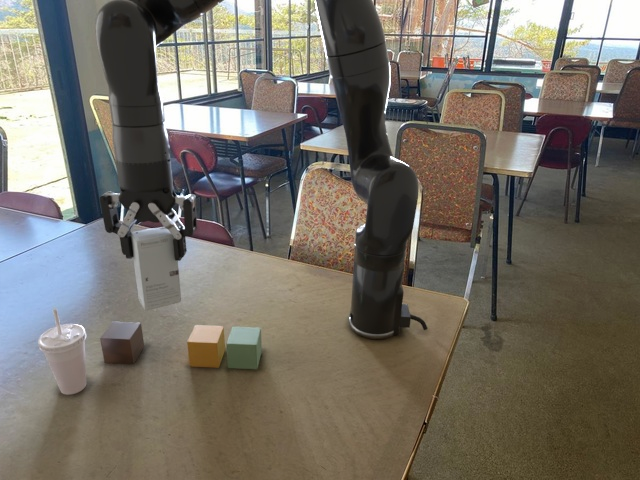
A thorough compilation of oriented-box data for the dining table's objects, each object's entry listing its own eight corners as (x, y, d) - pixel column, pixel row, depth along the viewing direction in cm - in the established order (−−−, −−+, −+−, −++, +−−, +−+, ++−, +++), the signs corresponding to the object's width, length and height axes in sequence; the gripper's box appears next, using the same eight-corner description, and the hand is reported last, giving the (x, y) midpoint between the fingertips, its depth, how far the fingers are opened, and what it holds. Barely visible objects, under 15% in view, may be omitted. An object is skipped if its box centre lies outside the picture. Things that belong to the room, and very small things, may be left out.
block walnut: (144, 346, 86) (141, 322, 84) (133, 364, 81) (129, 339, 79) (116, 345, 86) (112, 321, 84) (104, 362, 81) (99, 338, 79)
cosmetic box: (145, 312, 76) (135, 242, 71) (137, 299, 79) (127, 231, 74) (183, 301, 79) (176, 233, 74) (174, 290, 82) (167, 224, 77)
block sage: (261, 351, 85) (261, 327, 83) (257, 369, 81) (256, 344, 79) (233, 350, 85) (232, 326, 83) (227, 368, 81) (226, 343, 79)
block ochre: (225, 349, 85) (223, 326, 83) (218, 367, 81) (217, 343, 79) (197, 348, 85) (195, 324, 83) (189, 366, 81) (186, 341, 79)
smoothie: (83, 368, 80) (68, 294, 74) (103, 385, 76) (88, 309, 70) (43, 387, 75) (23, 311, 70) (62, 407, 71) (43, 328, 66)
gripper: (80, 159, 66) (99, 266, 72) (184, 162, 66) (194, 270, 72) (105, 147, 73) (120, 246, 79) (199, 150, 72) (206, 249, 79)
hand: (155, 257), depth 76 cm, fingers closed on cosmetic box, 7 cm apart
